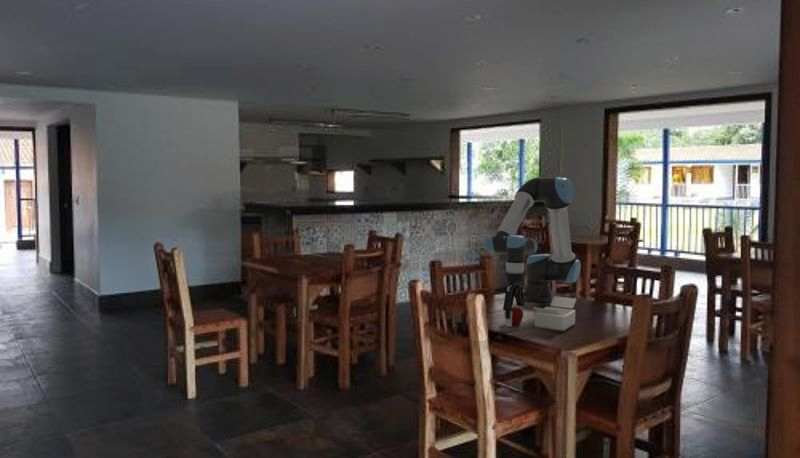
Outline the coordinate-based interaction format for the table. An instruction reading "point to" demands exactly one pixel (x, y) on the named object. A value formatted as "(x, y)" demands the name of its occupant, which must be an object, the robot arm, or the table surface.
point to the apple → (516, 315)
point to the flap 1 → (547, 311)
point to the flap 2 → (563, 302)
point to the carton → (555, 319)
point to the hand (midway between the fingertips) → (513, 323)
